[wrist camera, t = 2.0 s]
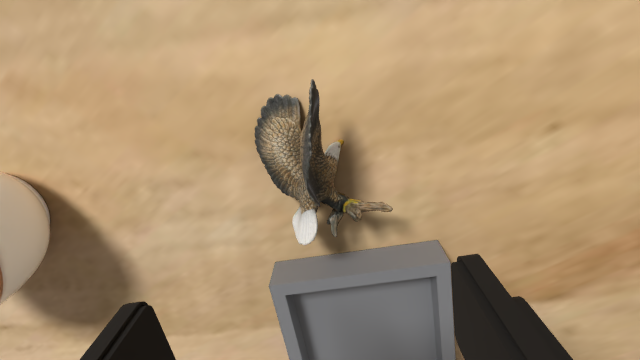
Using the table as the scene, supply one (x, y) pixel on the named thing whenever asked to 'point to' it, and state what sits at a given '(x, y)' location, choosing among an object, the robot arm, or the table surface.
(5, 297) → the lidded jar
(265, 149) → the eagle figurine
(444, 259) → the tray
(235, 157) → the table surface
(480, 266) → the robot arm
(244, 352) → the table surface
